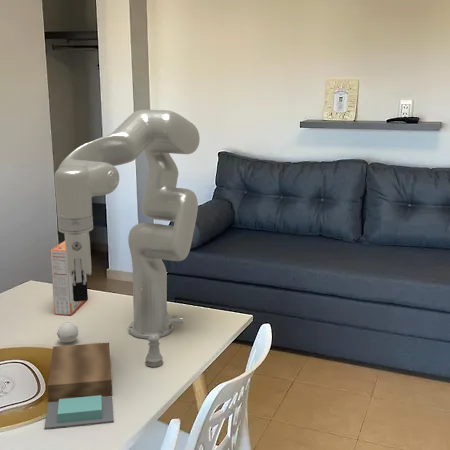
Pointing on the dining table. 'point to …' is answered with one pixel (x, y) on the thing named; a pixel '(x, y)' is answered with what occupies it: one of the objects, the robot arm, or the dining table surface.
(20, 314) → the dining table surface
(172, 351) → the dining table surface
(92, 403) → the teal rectangular block
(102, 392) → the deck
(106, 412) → the mat
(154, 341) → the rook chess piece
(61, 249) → the cracker box
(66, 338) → the white sphere
